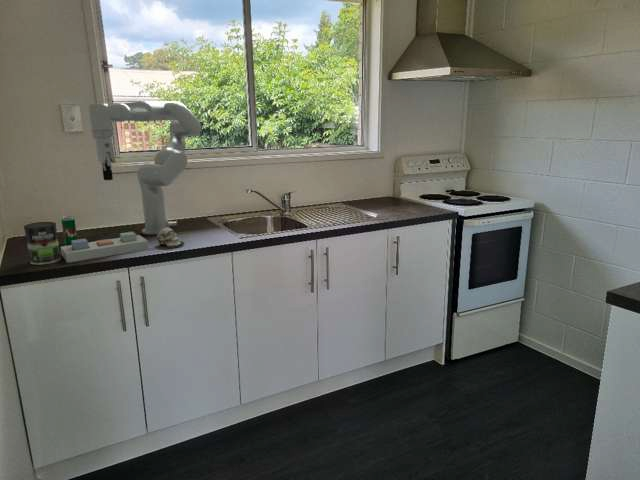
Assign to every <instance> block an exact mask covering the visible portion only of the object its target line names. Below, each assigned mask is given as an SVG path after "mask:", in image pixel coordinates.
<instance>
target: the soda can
mask: <svg viewBox="0 0 640 480" xmlns="http://www.w3.org/2000/svg"><path fill="white" fill-rule="evenodd" d="M60 221H61V222H60V223H61V228H62V233H63V240H64V241H63V242H64V246H69V245H72V243H71V241H72V240H78V232H77V225H76V219H75V217H74V216H73V215H66V216H62V217H61V220H60Z"/></svg>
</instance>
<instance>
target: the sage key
mask: <svg viewBox="0 0 640 480" xmlns="http://www.w3.org/2000/svg"><path fill="white" fill-rule="evenodd" d="M136 235H137V234H136V233H135V232H134V231H127V232H121V233H119V238H120V239H121V242H123V243H125V242H131V241H137V240H136Z"/></svg>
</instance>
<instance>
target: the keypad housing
mask: <svg viewBox="0 0 640 480" xmlns="http://www.w3.org/2000/svg"><path fill="white" fill-rule="evenodd" d="M110 239H111V240H112V241H113V244H112V245H106V246H100V247H99V246H98V245H97V241H98V240H96V241H91V242H89V241H88V245H89V248H87V249H81V250H74V251H73V249H72V245H69V246H67V245H63V246H60V253H61V255H62V256H61V257H63V259H64V260H65V262H66V263H67V264H68V263H74V262H81V261H86V260H87V261H88V260H92V259H98V258H104V257H109V256H114V255H115V256H116V255H121V254H127V253H131V252H132V253H134V252H139V251H143V250H144V251H146V250H149V249H150V247H149V240H147V238H144V237H143V236H142V235H140V234H136V240H137V241H131V242H125V243H123V242H121V239H120V237H117V238H110Z"/></svg>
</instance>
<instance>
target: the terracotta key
mask: <svg viewBox="0 0 640 480" xmlns="http://www.w3.org/2000/svg"><path fill="white" fill-rule="evenodd" d="M111 239H112V238H106V239H105V238H104V239H100V240H99V239H98V240H96V241H97V245H98V246H99V247H100V246H106V245H112V244H113V241H112V240H111Z"/></svg>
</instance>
